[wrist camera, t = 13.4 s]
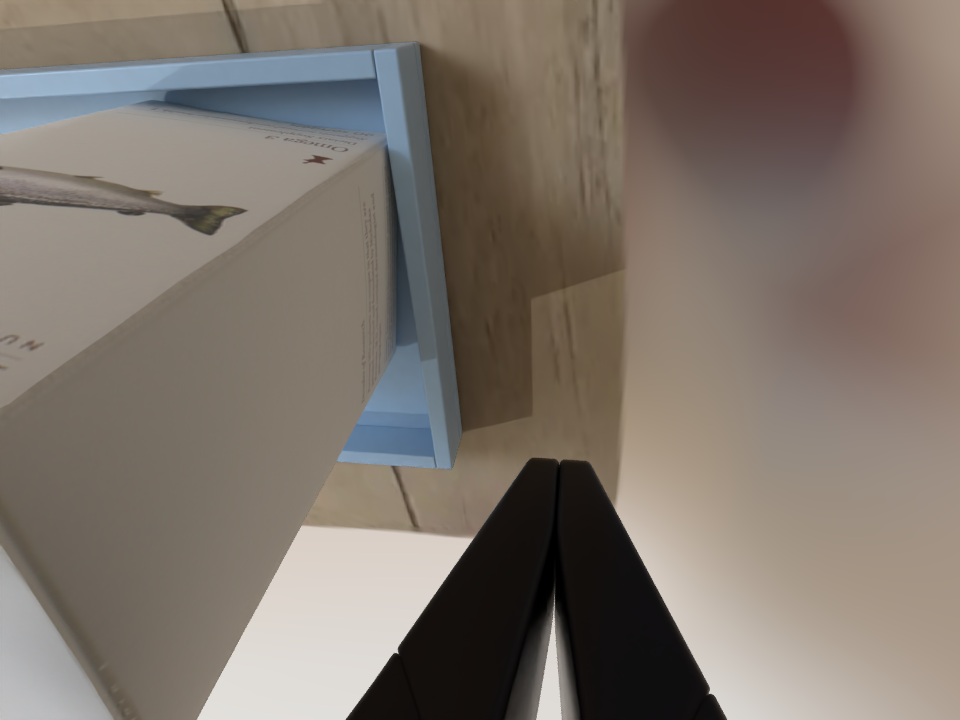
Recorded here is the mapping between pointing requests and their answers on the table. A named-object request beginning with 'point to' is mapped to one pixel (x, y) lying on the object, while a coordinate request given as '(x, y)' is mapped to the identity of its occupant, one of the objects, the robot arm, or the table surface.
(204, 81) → the tray
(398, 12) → the table surface
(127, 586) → the white packaging box
